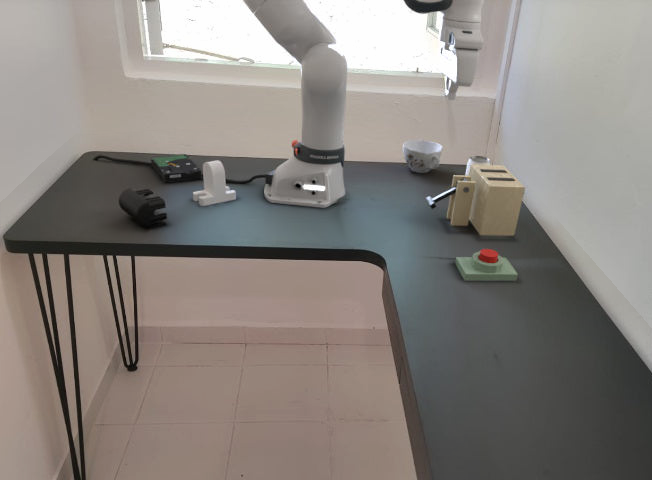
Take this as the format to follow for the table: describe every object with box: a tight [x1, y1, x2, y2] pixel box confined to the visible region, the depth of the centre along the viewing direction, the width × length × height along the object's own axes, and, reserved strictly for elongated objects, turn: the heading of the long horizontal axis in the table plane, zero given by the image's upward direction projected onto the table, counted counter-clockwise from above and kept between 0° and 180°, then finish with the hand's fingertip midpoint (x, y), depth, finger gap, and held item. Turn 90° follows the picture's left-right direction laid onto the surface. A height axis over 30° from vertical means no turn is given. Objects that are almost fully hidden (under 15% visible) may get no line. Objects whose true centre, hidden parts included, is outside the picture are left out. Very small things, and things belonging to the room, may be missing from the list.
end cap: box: [118, 187, 168, 229], centre depth 138 cm, size 10×7×7 cm
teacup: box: [402, 139, 444, 174], centre depth 187 cm, size 15×12×8 cm
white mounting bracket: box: [192, 159, 237, 207], centre depth 153 cm, size 5×10×10 cm, turn 131°
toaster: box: [469, 164, 526, 237], centre depth 152 cm, size 9×16×14 cm, turn 9°
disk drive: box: [150, 154, 203, 183], centre depth 168 cm, size 10×3×15 cm
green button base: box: [454, 250, 519, 282], centre depth 133 cm, size 12×8×4 cm, turn 99°
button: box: [479, 248, 499, 263], centre depth 132 cm, size 4×4×2 cm
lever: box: [425, 178, 468, 210], centre depth 149 cm, size 11×5×2 cm
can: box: [464, 155, 491, 176], centre depth 169 cm, size 6×6×12 cm
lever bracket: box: [446, 174, 476, 227], centre depth 151 cm, size 6×8×13 cm
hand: (449, 98), depth 139 cm, fingers closed
